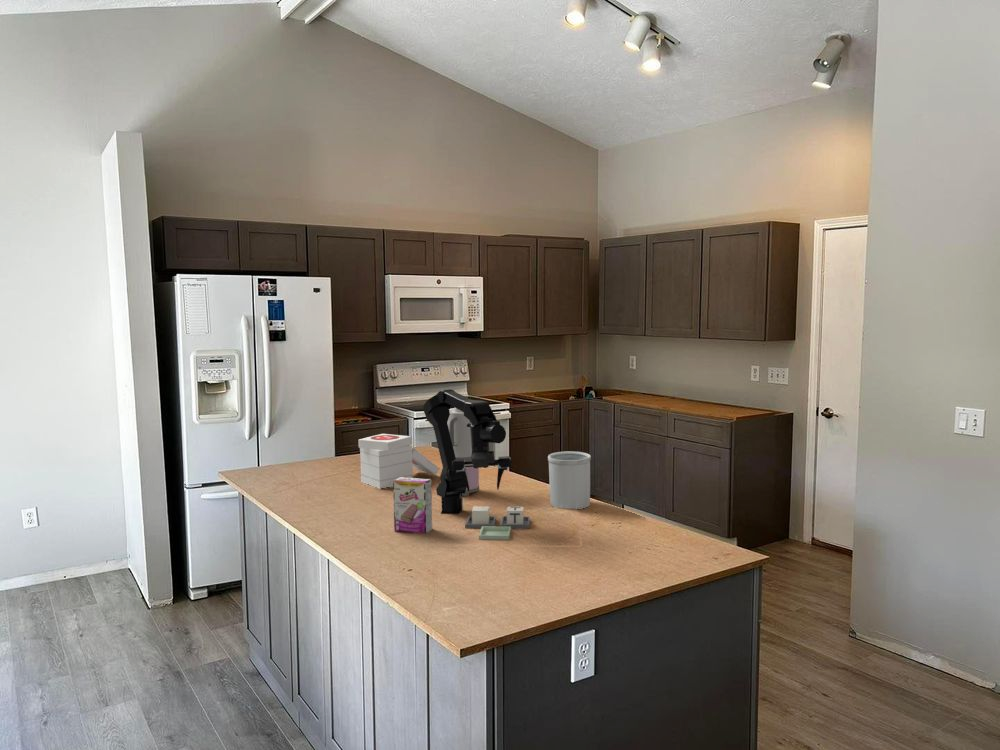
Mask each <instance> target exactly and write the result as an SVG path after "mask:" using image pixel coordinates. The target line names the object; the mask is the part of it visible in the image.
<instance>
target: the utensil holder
mask: <svg viewBox="0 0 1000 750" xmlns="http://www.w3.org/2000/svg"><path fill="white" fill-rule="evenodd" d="M591 459H592V456H591V454H589V453H587V452H582V451H573V450H572V451H569V450H568V451H558V452H552V453H550V454H548V456H547V461H548V476H549V481H548V482H549V499H550V501H549V502H550V506H551V505H552V506H553V507H552V506H551V507H552V508H556V509H563V510H577V509H579V510H583V508H584V509H586V507H587V508H588V507H590V505H591Z"/></svg>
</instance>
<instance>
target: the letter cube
mask: <svg viewBox="0 0 1000 750" xmlns="http://www.w3.org/2000/svg"><path fill="white" fill-rule="evenodd" d="M506 516H507V524H523V523H524V517H525V514H524V506H507V509H506Z"/></svg>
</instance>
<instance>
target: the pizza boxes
mask: <svg viewBox="0 0 1000 750" xmlns="http://www.w3.org/2000/svg"><path fill="white" fill-rule="evenodd" d="M412 440H413V438H412V436H410V435H402V434H392V433H391V434H389V433H380V434H375V435H371V436H367V437H364V438H360V439H357V441H358V448H359V452H360V453H359V454H360V455H359V456H360V458H359V459H360V482H363V483H362V484H364V483H366V484H365V485H367V484H369V485H371V486H370V487H372V486H374V487H373V488H375V487H377V488H385V489H387V488H386V487H390V488H392V487H391V486H393V480H394V479H397V478H399V477H408V478H414V477H413V468H414V469H415V470H418V471H420V472H421V471H422V472H424V473H427V474H430V475H435V476H437V474H438V472H439V471H440V467H438V466H437V465H436V464H435V463H434V462H432V461H431V460H430V459H428V458H427V457H426V456H424V455H423V454H422V453H421V452H420V451H419V450H417V449H415V448H413V447H412V444H413V441H412ZM369 485H368V486H369ZM377 488H376V489H377Z"/></svg>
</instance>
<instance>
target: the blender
mask: <svg viewBox="0 0 1000 750" xmlns="http://www.w3.org/2000/svg"><path fill="white" fill-rule="evenodd" d="M453 408H454V409H449V412H450V416H449V419H448V422H447V424H448V428H449V432H450V436H451V440H452V444H453V449H454V453H455V457H456V459H465V461H472V457H471V455H472V447H471V431H470V427H467V424H468V423H469V422H470V420H468V419H467V418H466V417H465V416H464V413H463V412H462V411H461V410H459V409H457V408H455V407H453ZM465 468H466V469H467V475H468V481H469V488H470V491H469V492H468V490H467V487H466V492H465V493H464V494H461V496H462V497H469V493H470V494H471V493H475V492H478V491H479V490H480V483H479V482H480V475H479V474H480V472H479V471H480V468H473V467H465Z"/></svg>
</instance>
